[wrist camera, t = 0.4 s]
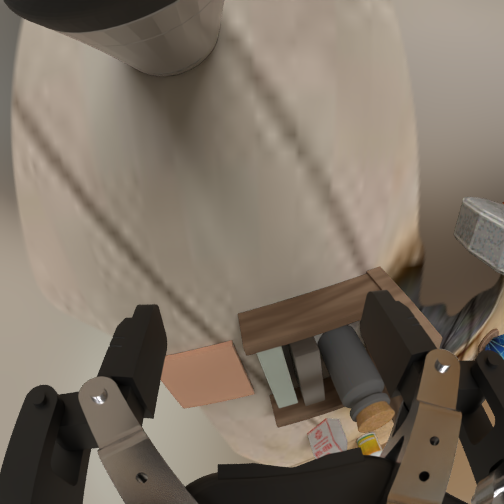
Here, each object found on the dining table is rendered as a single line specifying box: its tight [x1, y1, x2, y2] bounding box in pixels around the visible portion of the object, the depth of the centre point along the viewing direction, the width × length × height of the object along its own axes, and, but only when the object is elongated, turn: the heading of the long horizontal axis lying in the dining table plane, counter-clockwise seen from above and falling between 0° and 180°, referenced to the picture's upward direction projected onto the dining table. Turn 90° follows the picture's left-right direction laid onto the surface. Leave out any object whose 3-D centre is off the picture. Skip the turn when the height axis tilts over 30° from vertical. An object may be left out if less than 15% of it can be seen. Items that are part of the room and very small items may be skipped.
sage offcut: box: [257, 346, 298, 408], centre depth 39 cm, size 14×3×4 cm, turn 15°
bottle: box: [318, 325, 395, 433], centre depth 34 cm, size 6×6×15 cm
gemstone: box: [478, 329, 504, 359], centre depth 47 cm, size 7×9×12 cm
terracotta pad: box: [161, 340, 255, 408], centre depth 40 cm, size 12×12×1 cm
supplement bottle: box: [357, 432, 383, 457], centre depth 58 cm, size 5×5×10 cm
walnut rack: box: [238, 267, 442, 427], centre depth 34 cm, size 21×19×14 cm
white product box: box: [307, 418, 347, 459], centre depth 49 cm, size 4×7×10 cm, turn 151°
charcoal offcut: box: [288, 336, 325, 406], centre depth 38 cm, size 12×3×6 cm, turn 14°
